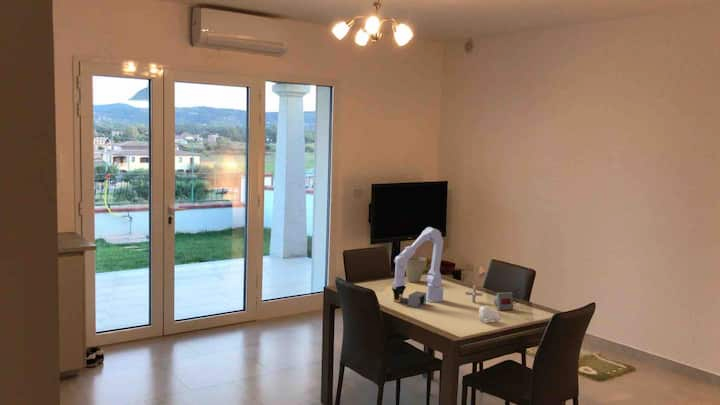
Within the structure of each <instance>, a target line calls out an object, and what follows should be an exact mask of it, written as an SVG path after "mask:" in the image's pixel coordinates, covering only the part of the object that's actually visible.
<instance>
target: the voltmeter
mask: <svg viewBox="0 0 720 405" xmlns="http://www.w3.org/2000/svg"><path fill="white" fill-rule="evenodd" d="M520 290H521V288H518V289H516V290H513V292H496V295H495V296H494V299H493V305H494V306H495V307H496V308H497V311H509V310H510V311H512V310H514V307H515V306H514V305H515V304H517V303H519V300H517V298H520V296H521V295H519V294H518V292H519V291H520ZM511 309H512V310H511Z"/></svg>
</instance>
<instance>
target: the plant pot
mask: <svg viewBox="0 0 720 405" xmlns="http://www.w3.org/2000/svg"><path fill="white" fill-rule="evenodd" d="M426 261H427V259H426V258H424V257H421V256H420V257H419V256H412V257H411V258H410V259H409V260H408V261H407V264H406V265H405V275H406V279H407V281H408V282H409V283H413V284H417V283H420V281H421V278H422V275H423V273H424V270H425V266H426Z"/></svg>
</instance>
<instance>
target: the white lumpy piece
mask: <svg viewBox="0 0 720 405" xmlns="http://www.w3.org/2000/svg"><path fill="white" fill-rule="evenodd" d="M478 317H479V320H480V321H481V322H483V323H484V324H485V323H486V324H488V322H489V321H494V322H495V323H498V322H499V320H501V315H500V314H499V313H496V312H494V310H493V309H492V308H491V307H489V306H485V305H484V306H483V305H482V306H480V307H479V310H478ZM486 324H485V325H486Z"/></svg>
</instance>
